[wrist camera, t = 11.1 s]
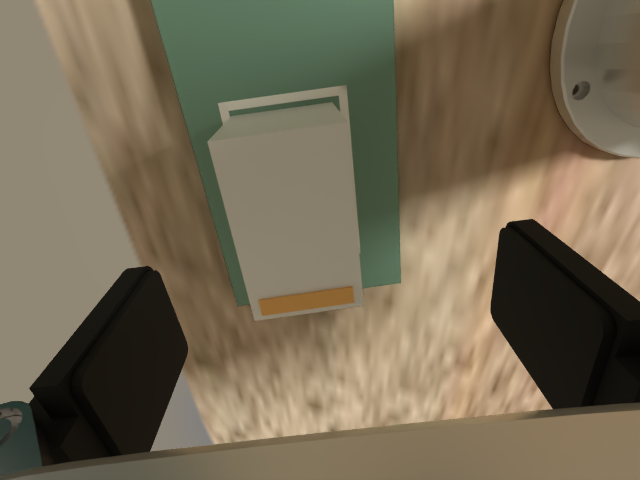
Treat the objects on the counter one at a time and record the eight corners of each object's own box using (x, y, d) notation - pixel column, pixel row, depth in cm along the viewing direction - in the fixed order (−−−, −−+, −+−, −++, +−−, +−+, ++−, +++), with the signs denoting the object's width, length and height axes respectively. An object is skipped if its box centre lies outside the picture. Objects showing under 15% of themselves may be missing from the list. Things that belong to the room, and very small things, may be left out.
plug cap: (230, 116, 17) (206, 142, 12) (332, 102, 17) (348, 122, 12) (263, 258, 21) (254, 322, 16) (346, 246, 21) (364, 307, 16)
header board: (80, -288, 12) (58, -321, 11) (376, -328, 12) (384, -366, 11) (240, 294, 23) (237, 306, 22) (395, 272, 23) (401, 283, 22)
